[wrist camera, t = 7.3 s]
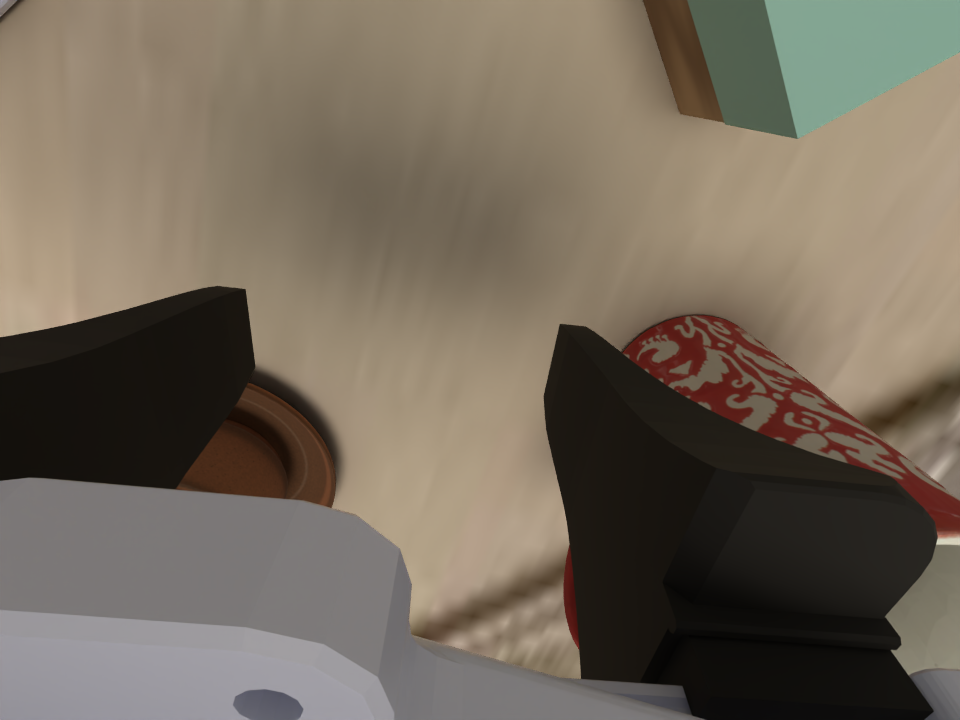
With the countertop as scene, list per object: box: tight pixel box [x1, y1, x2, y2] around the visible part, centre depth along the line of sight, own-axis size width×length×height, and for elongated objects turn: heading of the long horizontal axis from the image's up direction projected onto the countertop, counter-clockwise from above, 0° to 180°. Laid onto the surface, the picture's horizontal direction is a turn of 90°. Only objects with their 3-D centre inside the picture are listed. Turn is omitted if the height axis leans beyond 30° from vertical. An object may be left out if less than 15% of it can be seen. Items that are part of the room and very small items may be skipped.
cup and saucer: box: [176, 383, 336, 508], centre depth 24 cm, size 12×12×6 cm
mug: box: [564, 315, 960, 675], centre depth 19 cm, size 13×9×14 cm
